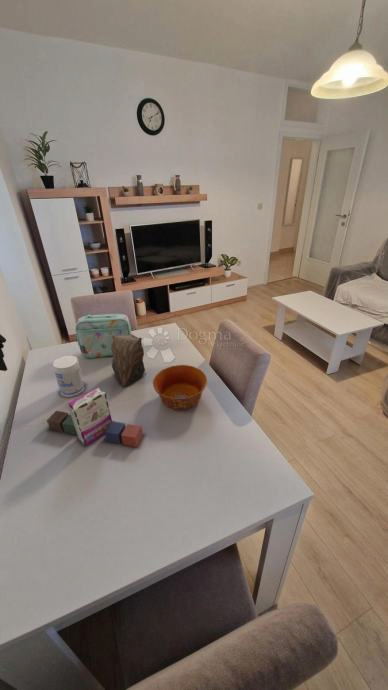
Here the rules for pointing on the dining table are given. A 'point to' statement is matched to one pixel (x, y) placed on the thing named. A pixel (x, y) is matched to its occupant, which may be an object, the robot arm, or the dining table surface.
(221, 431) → the dining table surface
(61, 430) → the block
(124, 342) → the brown rock
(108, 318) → the lunch box
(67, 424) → the block
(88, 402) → the candy bar box
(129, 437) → the block
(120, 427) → the block
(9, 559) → the dining table surface
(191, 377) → the bowl
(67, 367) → the supplement tub
